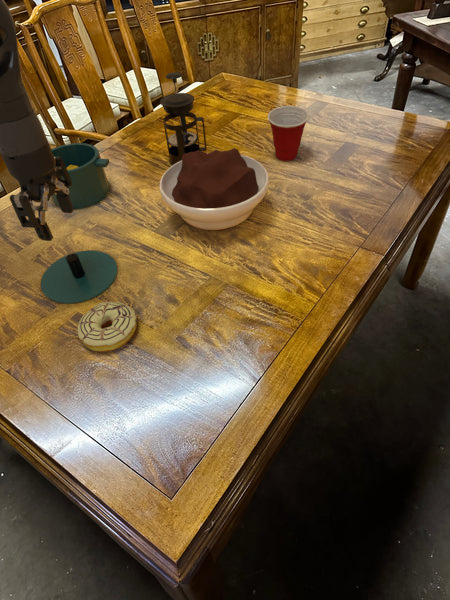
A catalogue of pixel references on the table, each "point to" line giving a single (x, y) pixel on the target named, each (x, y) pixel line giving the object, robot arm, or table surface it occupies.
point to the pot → (84, 174)
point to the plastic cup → (287, 130)
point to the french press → (180, 108)
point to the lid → (79, 277)
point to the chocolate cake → (214, 188)
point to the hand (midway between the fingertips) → (58, 225)
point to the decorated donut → (109, 337)
